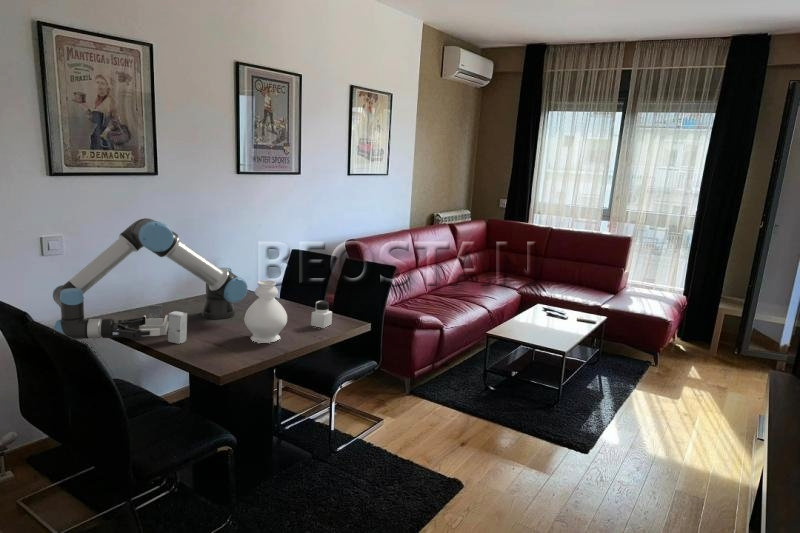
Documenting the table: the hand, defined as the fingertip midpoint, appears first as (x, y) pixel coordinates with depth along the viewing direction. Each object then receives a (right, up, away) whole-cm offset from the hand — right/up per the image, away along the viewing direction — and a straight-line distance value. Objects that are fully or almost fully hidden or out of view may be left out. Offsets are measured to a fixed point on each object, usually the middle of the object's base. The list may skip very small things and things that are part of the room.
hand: (161, 326), depth 215 cm
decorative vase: (+39, -7, +14) cm, 42 cm away
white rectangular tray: (-10, -3, +16) cm, 19 cm away
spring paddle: (-12, -1, +21) cm, 24 cm away
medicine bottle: (+59, -4, +37) cm, 70 cm away
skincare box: (+5, -7, +4) cm, 9 cm away
